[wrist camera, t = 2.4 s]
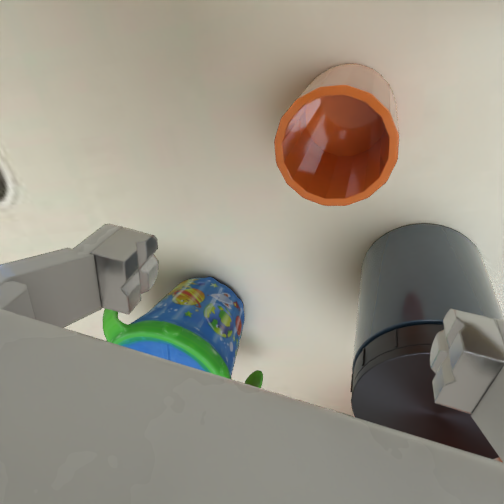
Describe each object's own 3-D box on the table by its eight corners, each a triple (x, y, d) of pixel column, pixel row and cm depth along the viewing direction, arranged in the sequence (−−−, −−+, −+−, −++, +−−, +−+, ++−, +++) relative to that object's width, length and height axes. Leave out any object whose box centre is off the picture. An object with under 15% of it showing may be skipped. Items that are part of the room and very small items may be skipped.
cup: (282, 118, 29) (252, 153, 22) (346, 40, 25) (331, 55, 18) (346, 176, 29) (335, 226, 23) (416, 109, 26) (427, 146, 19)
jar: (338, 269, 34) (317, 386, 24) (427, 200, 29) (450, 311, 18) (413, 333, 35) (424, 471, 25) (511, 278, 30) (575, 422, 20)
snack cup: (125, 274, 41) (60, 343, 33) (186, 220, 36) (125, 287, 27) (229, 370, 45) (193, 455, 36) (300, 335, 39) (276, 426, 31)
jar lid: (323, 369, 25) (318, 396, 23) (445, 295, 20) (451, 324, 18) (422, 449, 26) (425, 480, 24) (561, 399, 21) (576, 434, 19)
